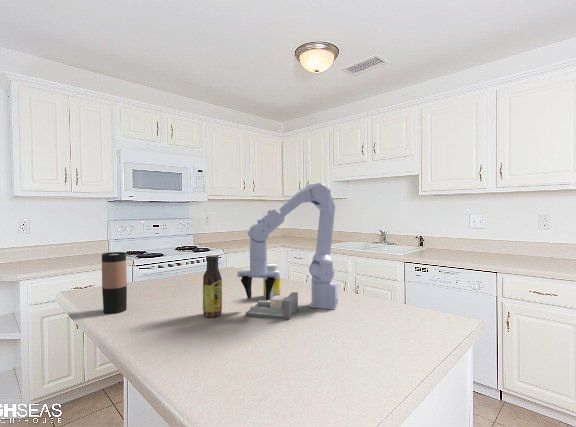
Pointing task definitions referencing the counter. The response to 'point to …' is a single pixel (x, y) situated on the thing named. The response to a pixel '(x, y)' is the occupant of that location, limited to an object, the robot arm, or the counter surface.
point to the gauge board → (266, 312)
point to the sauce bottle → (212, 288)
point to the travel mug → (114, 282)
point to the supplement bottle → (276, 285)
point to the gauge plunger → (277, 302)
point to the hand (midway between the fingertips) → (258, 298)
